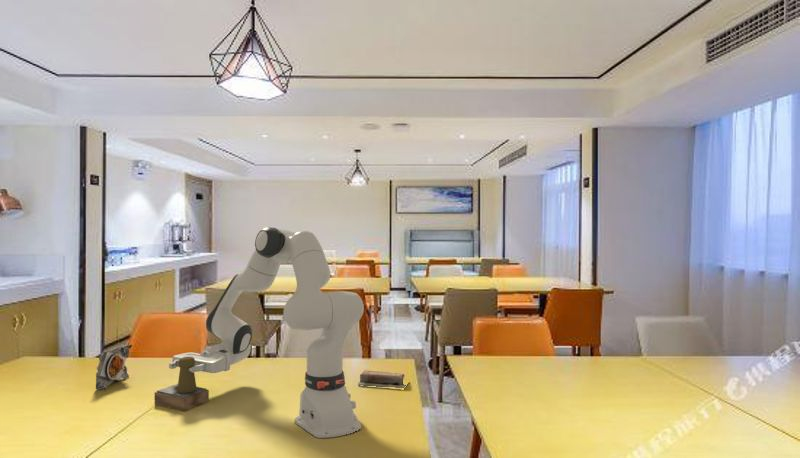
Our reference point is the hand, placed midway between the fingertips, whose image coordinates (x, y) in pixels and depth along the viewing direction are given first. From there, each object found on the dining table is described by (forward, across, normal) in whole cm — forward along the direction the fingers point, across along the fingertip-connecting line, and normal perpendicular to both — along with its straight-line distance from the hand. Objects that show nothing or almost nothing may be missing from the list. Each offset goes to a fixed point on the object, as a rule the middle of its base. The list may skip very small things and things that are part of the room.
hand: (180, 368), depth 167 cm
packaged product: (-49, +51, +13) cm, 72 cm away
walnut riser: (-1, 0, +12) cm, 12 cm away
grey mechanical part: (-4, -40, +12) cm, 42 cm away
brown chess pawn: (-1, +2, +8) cm, 8 cm away
